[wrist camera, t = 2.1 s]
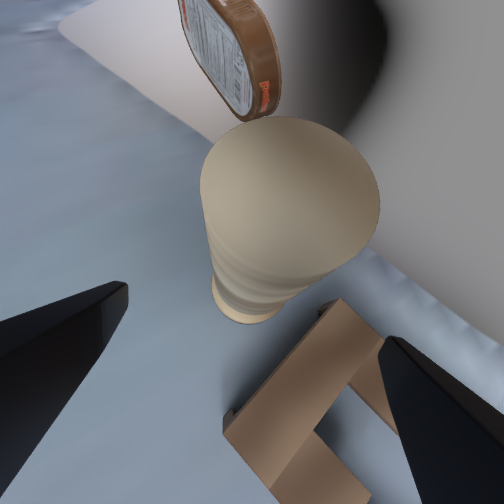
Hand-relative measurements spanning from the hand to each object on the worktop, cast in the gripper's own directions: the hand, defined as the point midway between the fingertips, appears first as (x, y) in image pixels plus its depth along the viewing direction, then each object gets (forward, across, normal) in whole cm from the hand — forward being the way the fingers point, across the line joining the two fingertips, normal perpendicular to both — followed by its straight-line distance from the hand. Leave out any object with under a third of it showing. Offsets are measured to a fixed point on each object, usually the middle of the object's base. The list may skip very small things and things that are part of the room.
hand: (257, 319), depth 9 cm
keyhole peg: (+10, 0, +5) cm, 11 cm away
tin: (+24, +6, -9) cm, 27 cm away
